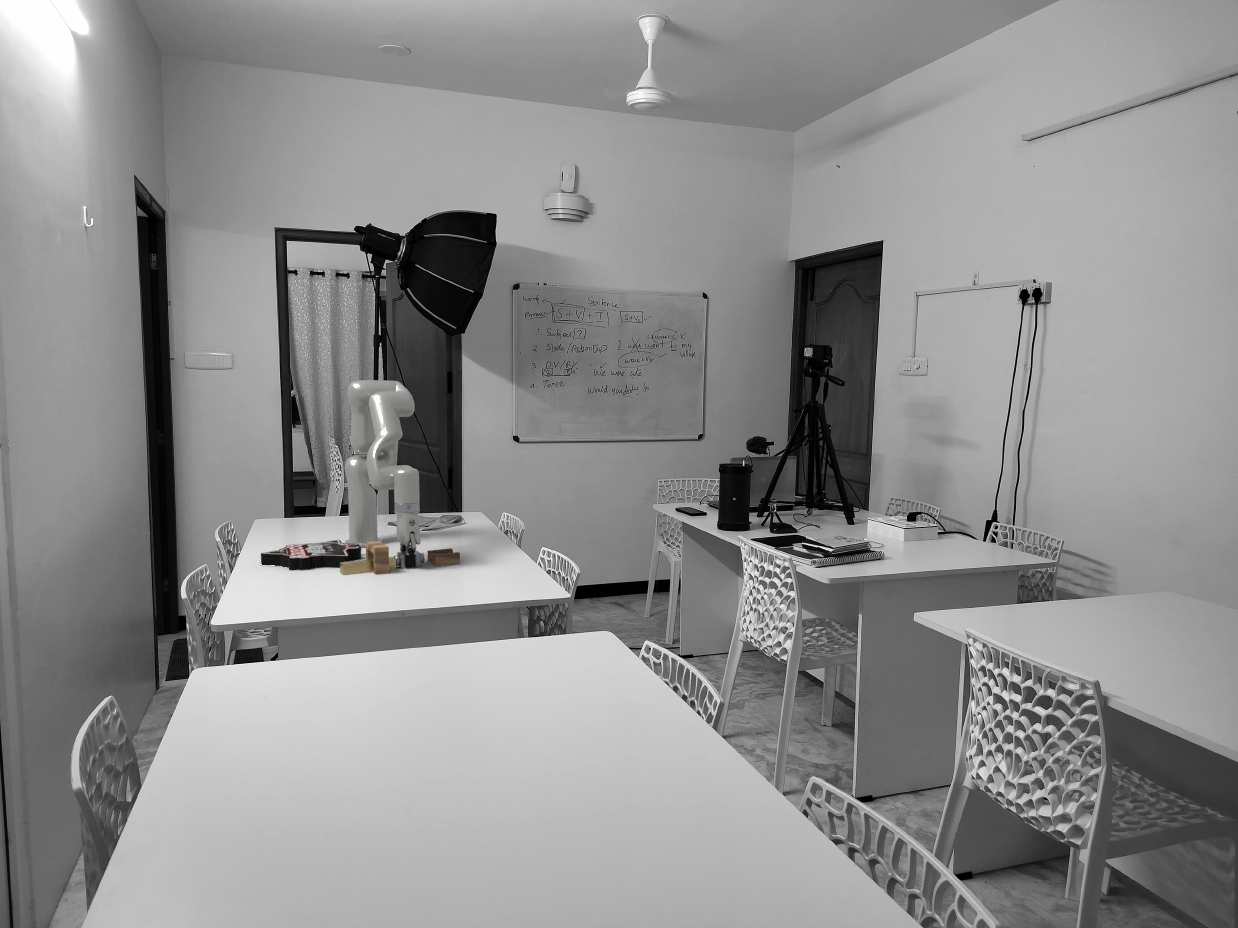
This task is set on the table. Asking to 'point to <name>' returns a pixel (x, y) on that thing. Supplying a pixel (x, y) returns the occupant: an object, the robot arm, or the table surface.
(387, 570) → the wooden arch block
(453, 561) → the v block
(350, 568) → the bar
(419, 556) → the grey motor
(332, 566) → the wall plaque
